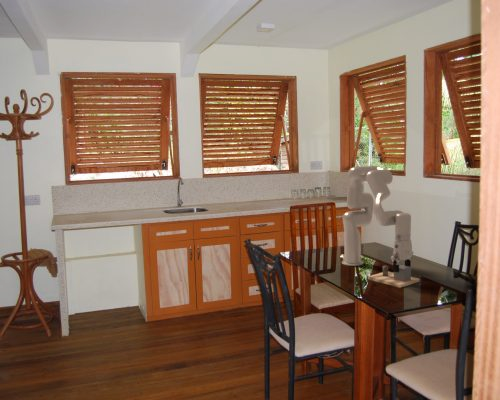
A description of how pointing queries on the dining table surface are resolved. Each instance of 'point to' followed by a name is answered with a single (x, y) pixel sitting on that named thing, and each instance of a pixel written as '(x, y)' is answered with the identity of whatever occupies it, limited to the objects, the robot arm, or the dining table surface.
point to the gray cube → (403, 273)
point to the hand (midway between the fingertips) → (401, 270)
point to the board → (391, 278)
